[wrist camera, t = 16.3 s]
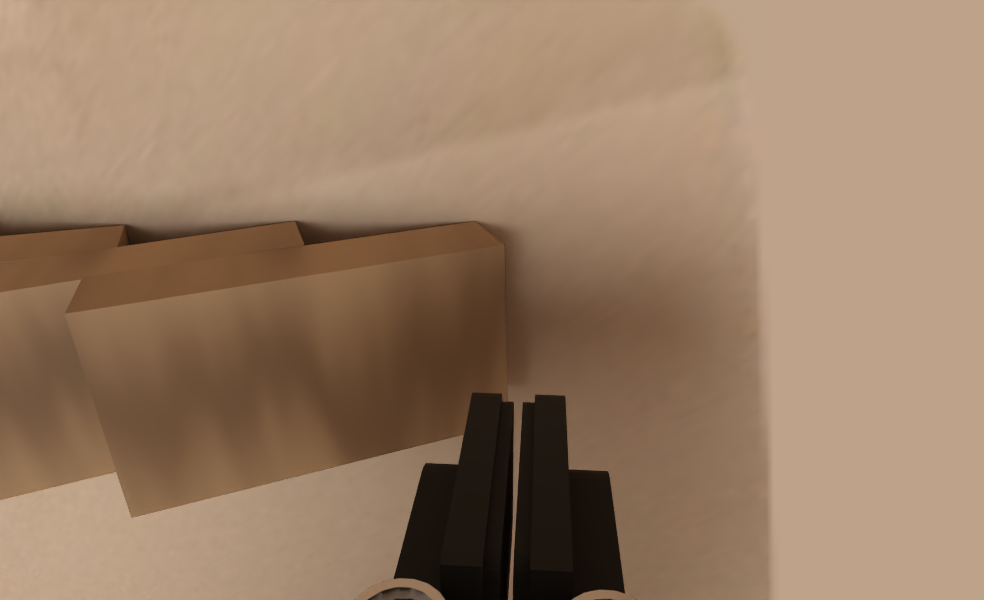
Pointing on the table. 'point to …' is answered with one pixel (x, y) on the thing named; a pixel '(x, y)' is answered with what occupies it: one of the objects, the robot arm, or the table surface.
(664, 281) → the table surface
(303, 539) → the table surface
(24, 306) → the domino
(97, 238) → the domino
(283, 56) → the table surface
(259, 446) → the domino
